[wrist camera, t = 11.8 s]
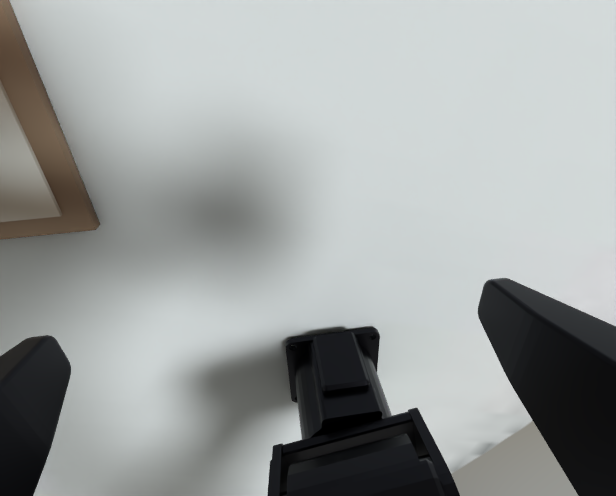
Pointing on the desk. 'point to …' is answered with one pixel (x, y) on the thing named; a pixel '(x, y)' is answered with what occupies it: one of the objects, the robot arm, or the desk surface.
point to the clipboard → (34, 149)
